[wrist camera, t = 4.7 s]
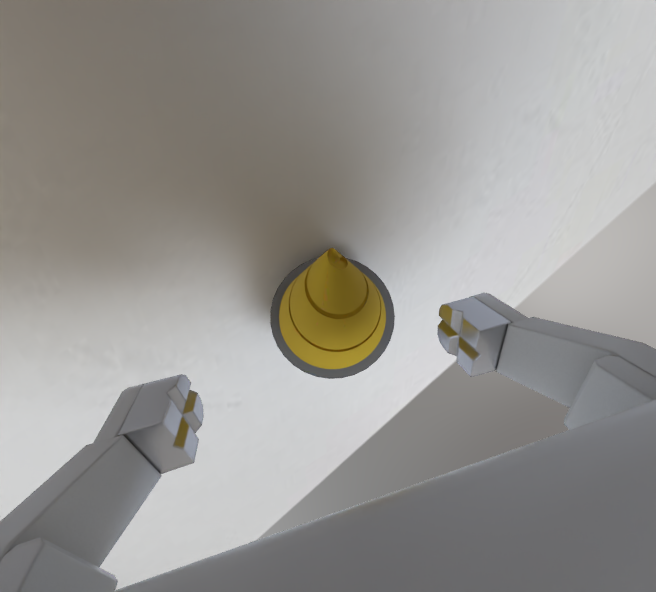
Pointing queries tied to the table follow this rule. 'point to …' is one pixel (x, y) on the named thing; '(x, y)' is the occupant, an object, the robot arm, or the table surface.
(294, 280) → the yellow tiered cone
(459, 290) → the table surface
